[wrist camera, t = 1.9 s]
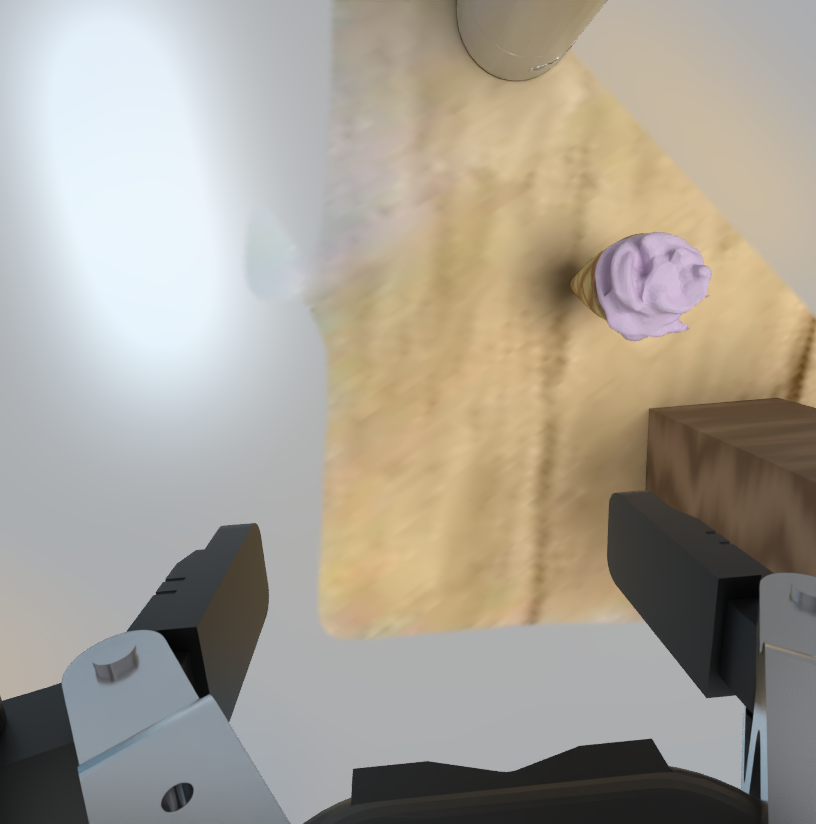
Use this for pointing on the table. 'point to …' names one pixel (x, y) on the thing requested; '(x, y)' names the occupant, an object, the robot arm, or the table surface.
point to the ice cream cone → (644, 284)
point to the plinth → (742, 475)
